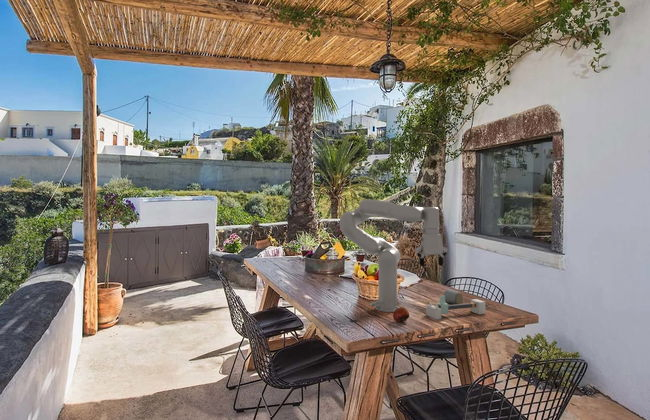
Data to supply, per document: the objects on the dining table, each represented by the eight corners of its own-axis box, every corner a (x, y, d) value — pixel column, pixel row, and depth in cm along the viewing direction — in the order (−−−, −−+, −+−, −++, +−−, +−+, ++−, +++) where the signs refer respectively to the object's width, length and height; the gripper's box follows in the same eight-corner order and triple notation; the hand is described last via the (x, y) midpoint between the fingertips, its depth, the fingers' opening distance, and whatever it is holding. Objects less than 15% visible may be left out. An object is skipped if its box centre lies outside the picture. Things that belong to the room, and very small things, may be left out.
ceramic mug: (455, 306, 211) (456, 292, 211) (442, 303, 218) (443, 289, 218) (466, 303, 218) (467, 290, 218) (453, 300, 224) (454, 287, 224)
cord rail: (436, 319, 186) (436, 306, 186) (426, 314, 194) (426, 302, 194) (486, 314, 197) (486, 301, 197) (475, 309, 204) (475, 298, 204)
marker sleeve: (441, 314, 190) (441, 297, 190) (436, 311, 194) (436, 295, 194) (448, 313, 191) (448, 296, 191) (442, 311, 195) (443, 294, 195)
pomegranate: (411, 328, 180) (403, 310, 188) (414, 318, 176) (406, 300, 183) (396, 330, 179) (389, 312, 186) (398, 321, 174) (391, 303, 182)
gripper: (417, 232, 190) (418, 267, 190) (451, 231, 192) (451, 266, 193) (412, 231, 197) (412, 265, 197) (443, 230, 200) (444, 264, 200)
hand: (431, 265), depth 195 cm, fingers open, 9 cm apart
